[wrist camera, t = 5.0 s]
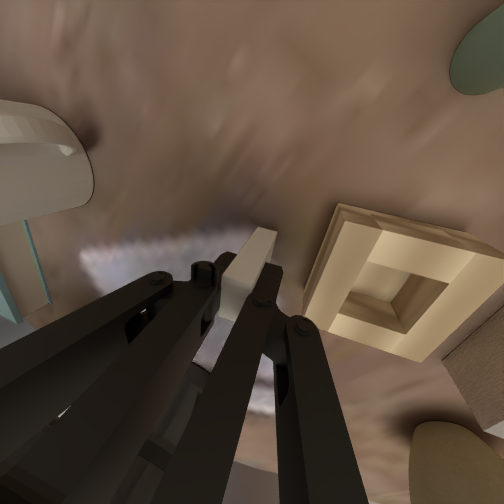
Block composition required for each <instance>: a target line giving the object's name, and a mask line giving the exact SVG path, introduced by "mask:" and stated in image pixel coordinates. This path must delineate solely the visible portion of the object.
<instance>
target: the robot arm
mask: <svg viewBox="0 0 504 504" xmlns="http://www.w3.org/2000/svg"><path fill="white" fill-rule="evenodd" d="M276 236H277V232H276V231H272V230H268V229H265V228H261V227H257V229H256V230H255V231H254V233H253V234H252V235H251V237H250V238H249V239H248V241H247V242H246V244H245V245H244V246H243V248H242V249H241V250H240V252H239V253H238V254H234V253H231V252H228V251H227V252H225V253H223V254H221V255H220V256H219V257H218V258H217V259H216V261H215V262H214V263H212V262H208V261H199V262H195V263H194V264H192V265H191V280H190V281H173V277H172V275H171V274H170V273H168V272H165V271H156V272H152V273H149V274H147V275H145V276H143V277H141V278H139V279H137V280H135V281H133V282H131V283H129V284H127V285H125V286H123V287H121V288H119V289H117V290H115V291H113V292H111V293H109V294H107V295H105V296H103V297H102V298H100V299H98V300H96V301H94V302H92V303H90V304H88V305H86V306H84V307H82V308H80V309H78V310H76V311H74V312H72V313H70V314H68V315H66V316H64V317H62V318H60V319H58V320H56V321H54V322H52V323H50V324H48V325H46V326H44V327H42V328H40V329H38V330H37V331H35V332H33V333H31V334H29V335H27V336H25V337H23V338H21V339H19V340H17V341H15V342H13V343H11V344H9V345H7V346H5V347H3V348H1V349H0V504H222V501H223V497H224V493H225V489H226V485H227V482H228V478H229V474H230V471H231V467H232V463H233V460H234V456H235V452H236V448H237V445H238V441H239V437H240V433H241V430H242V426H243V422H244V419H245V415H246V411H247V407H248V404H249V400H250V396H251V392H252V389H253V385H254V381H255V377H256V374H257V370H258V366H259V363H260V359H261V355H262V353H263V354H265V355H266V356H267V357H268V358H270V359H271V360H272V361H273V370H274V392H275V413H276V435H277V456H278V478H279V498H280V504H369V503H368V499H367V496H366V492H365V489H364V485H363V482H362V479H361V475H360V472H359V468H358V465H357V461H356V458H355V454H354V451H353V447H352V444H351V441H350V437H349V434H348V430H347V427H346V423H345V420H344V416H343V413H342V410H341V406H340V403H339V399H338V396H337V392H336V389H335V385H334V382H333V379H332V375H331V372H330V368H329V365H328V361H327V358H326V354H325V351H324V347H323V344H322V341H321V337H320V334H319V330H318V328H317V326H316V325H315V324H314V323H313V322H312V320H310V319H308V318H307V317H304V316H301V315H294V316H292V317H288V316H287V315H285V314H284V313H283V312H281V311H280V309H279V308H278V306H277V304H276V298H277V294H278V290H279V287H280V283H281V279H282V275H283V270H282V267H281V266H278V265H274V264H271V263H270V260H271V256H272V252H273V248H274V244H275V240H276ZM144 309H146V311H144V312H142V313H140V312H141V311H143V310H144ZM217 311H218V316H219V317H222V318H225V319H228V320H230V321H233V322H235V323H234V325H233V328H232V330H231V332H230V334H229V336H228V338H227V340H226V342H225V345H224V347H223V349H222V351H221V353H220V355H219V357H218V359H217V362H216V364H215V366H214V368H213V370H212V372H211V374H209V373H207V372H206V371H205V370H203V369H202V368H200V367H198V366H197V365H195V364H193V363H191V361H192V360H193V358H194V356H195V355H196V353H197V351H198V349H199V348H200V346H201V344H202V343H203V341H204V339H205V337H206V336H207V334H208V332H209V330H210V329H211V327H212V325H213V323H214V318H215V314H216V313H217ZM68 407H69V408H68ZM67 408H68V410H66V409H67ZM65 410H66V412H65V413H64V414H63V415H62V416H61V417H60V418H59V417H58V415H60V414H61V413H62V412H63V411H65Z"/></svg>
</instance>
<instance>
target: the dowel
mask: <svg viewBox="0 0 504 504" xmlns="http://www.w3.org/2000/svg"><path fill="white" fill-rule="evenodd" d="M450 79H451V82H452V84H453V86H454V87H455V89H456V90H458V91H459V92H461V93H463V94H467V95H479V94H484V93H487V92H490V91H494V90H497V89H500V88H503V87H504V3H503V4H502V5H501V6H500V7H498V8H497V9H496V10H494V11H493V12H492V13H490V14H489V15H488V16H487V17H485V18H484V19H483V20H481V21H480V22H479V23H478V24H476V25H475V26H474V27H473V28H472V29H471V30H470V31H469V32H468V33H467V34H466V36H465V37H464V38H463V40H462V41H461V42H460V44H459V46H458V47H457V49H456V51H455V53H454V56H453V58H452V61H451V66H450Z"/></svg>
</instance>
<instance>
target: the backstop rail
mask: <svg viewBox="0 0 504 504" xmlns="http://www.w3.org/2000/svg"><path fill="white" fill-rule="evenodd" d="M442 362H443V364H444V366H445V367H446V369H447V371H448V372H449V374H450V376H451V377H452V379H453V381H454V382H455V384H456V386H457V388H458V389H459V391H460V393H461V394H462V396H463V398H464V399H465V401H466V403H467V404H468V406H469V408H470V410H471V411H472V413H473V415H474V416H475V418H476V420H477V421H478V423H479V425H480V427H481V428H482V430H483V431H484V432H487V433H490V434H492V435H495V436H498V437H500V438H503V439H504V306H503V307H502V308H501V309H500V310H499V311H498V312H496V313H495V314H494V315H493V316H492V317H491V318H490V319H489V320H487V321H486V322H485V323H484V324H483V325H482V326H481V327H480V328H478V329H477V330H476V331H475V332H474V333H473V334H472V335H471V336H469V337H468V338H467V339H466V340H465V341H464V342H463V343H462V344H460V345H459V346H458V347H457V348H456V349H455V350H454V351H453V352H451V353H450V354H449V355H448V356H447V357H446V358H445V359H444V360H442Z"/></svg>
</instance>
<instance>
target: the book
mask: <svg viewBox="0 0 504 504" xmlns="http://www.w3.org/2000/svg"><path fill="white" fill-rule="evenodd" d="M46 304H50V305H51V304H52V301H51V297H50V294H49V291H48V288H47V284H46V281H45V278H44V275H43V271H42V268H41V265H40V262H39V258H38V255H37V252H36V249H35V245H34V242H33V239H32V236H31V232H30V229H29V226H28V223H27V220H23V221H19V222H15V223H11V224H6V225H2V226H0V315H1V316H3V317H5V318H6V319H8V320H10V321H12V322H14V323H16V324H19V323H21V322H23V319H22V318H23V317H25V316H27V315H29V314H30V313H32V312H34V311H35V310H37V309H39V308H41V307H42V306H44V305H46Z"/></svg>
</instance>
